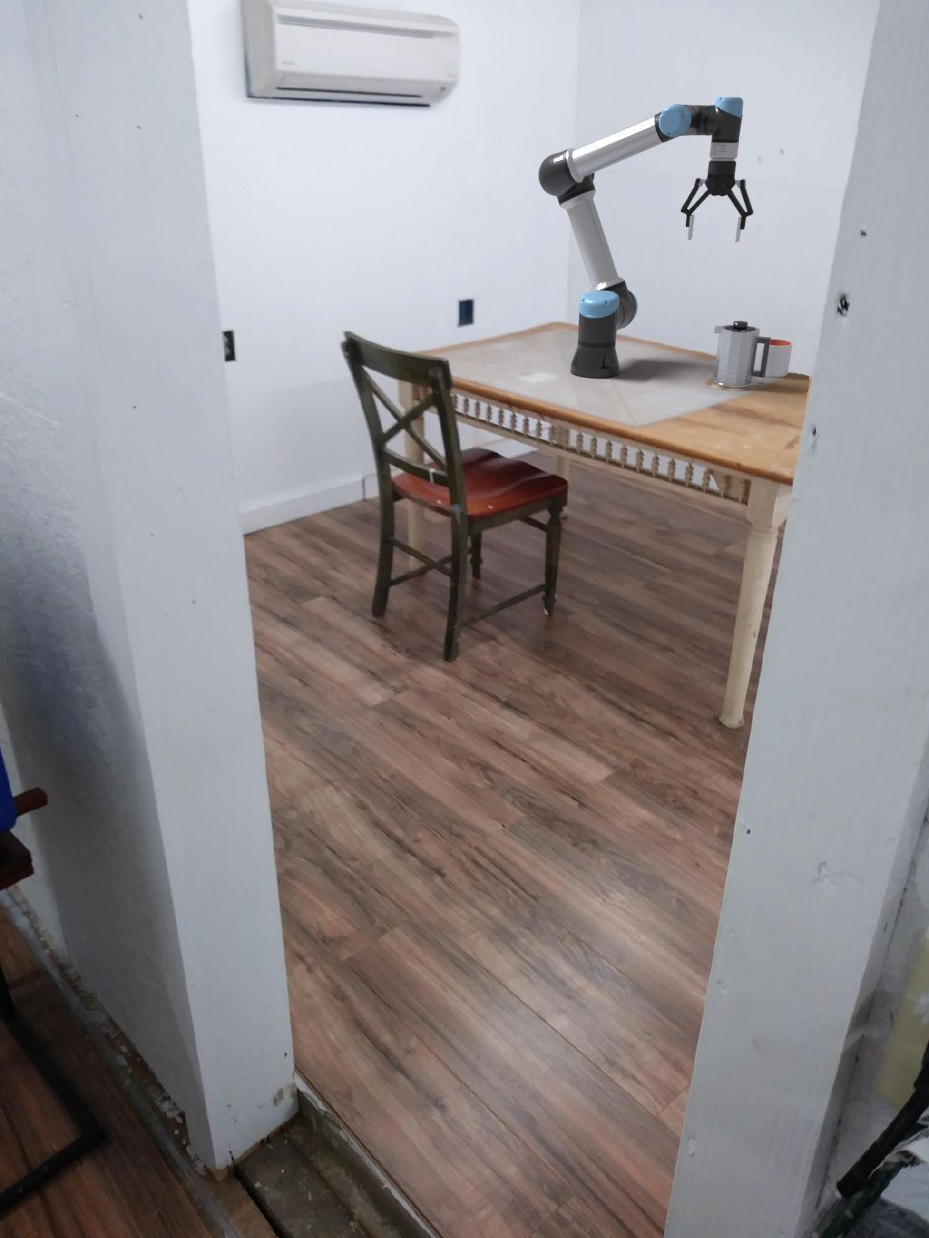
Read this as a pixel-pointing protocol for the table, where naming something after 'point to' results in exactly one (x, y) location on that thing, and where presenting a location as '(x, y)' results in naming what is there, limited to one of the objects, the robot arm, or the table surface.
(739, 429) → the table surface
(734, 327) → the plunger
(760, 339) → the carafe
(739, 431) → the table surface
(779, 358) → the cup
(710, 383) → the trivet
